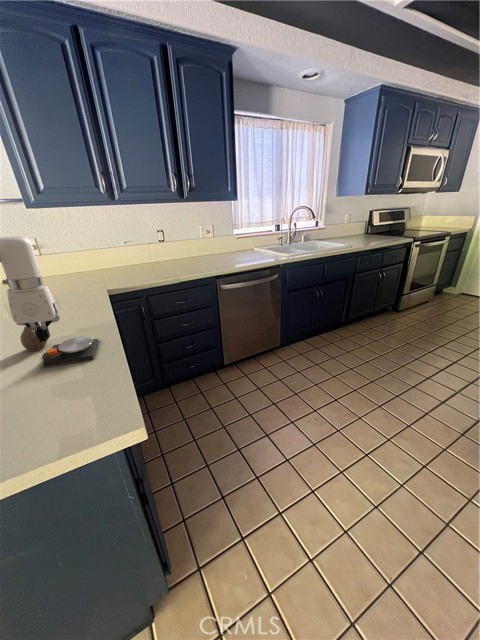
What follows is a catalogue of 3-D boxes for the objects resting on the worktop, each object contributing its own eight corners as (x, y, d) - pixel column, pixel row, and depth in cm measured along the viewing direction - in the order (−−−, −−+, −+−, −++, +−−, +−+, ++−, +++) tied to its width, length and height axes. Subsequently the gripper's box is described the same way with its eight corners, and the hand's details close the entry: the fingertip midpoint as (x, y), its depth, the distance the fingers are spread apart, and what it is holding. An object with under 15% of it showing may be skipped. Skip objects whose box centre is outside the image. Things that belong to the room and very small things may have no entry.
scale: (42, 367, 82) (39, 359, 81) (54, 348, 93) (51, 340, 92) (93, 359, 86) (91, 351, 85) (98, 341, 97) (96, 334, 96)
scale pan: (54, 355, 83) (54, 353, 83) (63, 340, 92) (62, 339, 91) (89, 349, 86) (89, 348, 86) (94, 336, 95) (94, 334, 94)
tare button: (46, 357, 83) (45, 353, 82) (49, 353, 85) (47, 348, 84) (56, 355, 84) (54, 351, 83) (58, 351, 86) (57, 347, 85)
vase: (22, 355, 89) (12, 332, 85) (27, 345, 94) (19, 323, 91) (46, 350, 91) (38, 328, 88) (50, 341, 97) (42, 320, 93)
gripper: (-14, 288, 69) (10, 349, 76) (53, 284, 73) (69, 342, 81) (0, 280, 75) (20, 337, 83) (60, 277, 80) (74, 331, 87)
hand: (44, 339), depth 82 cm, fingers closed
